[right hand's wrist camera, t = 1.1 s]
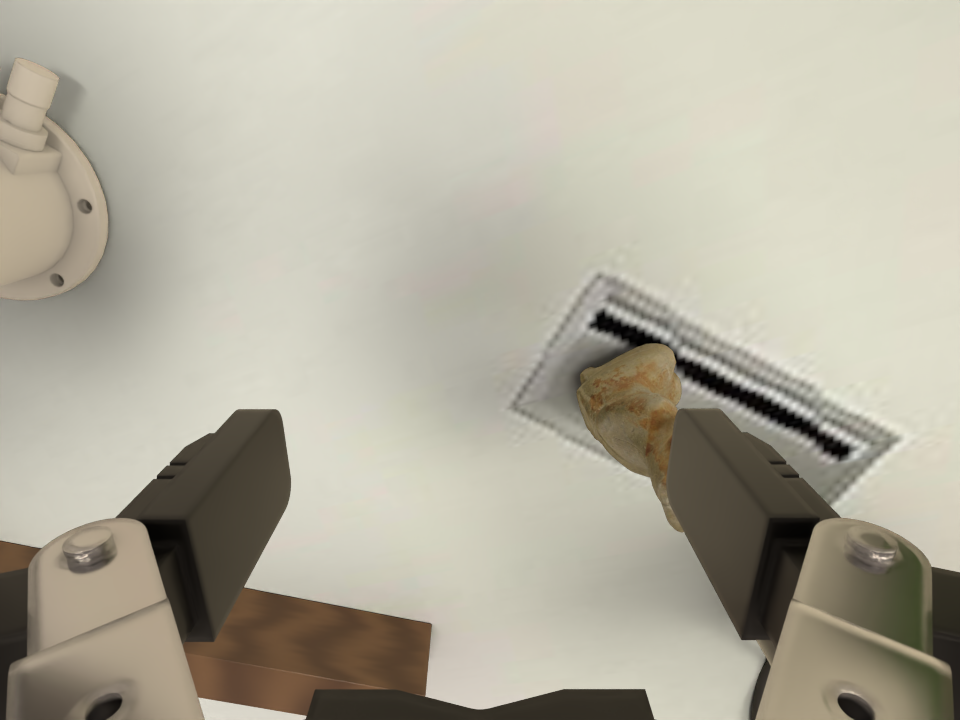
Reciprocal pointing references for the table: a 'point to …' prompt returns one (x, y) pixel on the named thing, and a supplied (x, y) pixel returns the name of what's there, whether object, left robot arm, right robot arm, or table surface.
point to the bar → (294, 649)
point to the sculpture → (635, 412)
